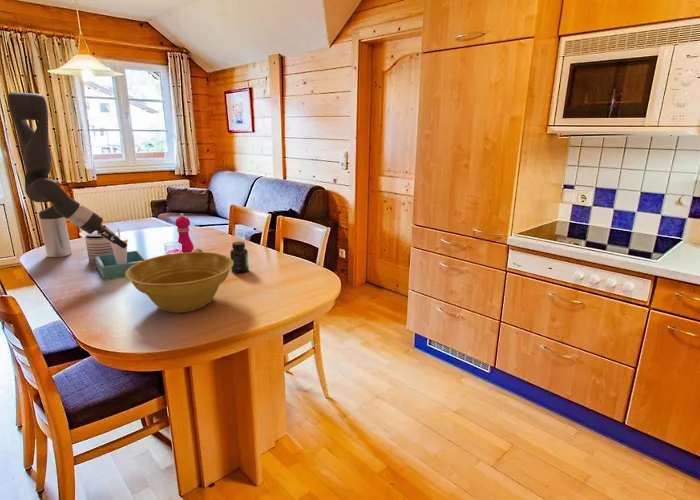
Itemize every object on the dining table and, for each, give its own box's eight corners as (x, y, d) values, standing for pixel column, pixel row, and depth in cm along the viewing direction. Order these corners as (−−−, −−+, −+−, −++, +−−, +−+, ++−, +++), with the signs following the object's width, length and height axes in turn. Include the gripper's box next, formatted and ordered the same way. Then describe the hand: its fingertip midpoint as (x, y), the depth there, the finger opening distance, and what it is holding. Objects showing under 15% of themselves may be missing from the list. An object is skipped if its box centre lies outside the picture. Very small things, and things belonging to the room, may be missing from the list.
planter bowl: (126, 334, 116) (120, 289, 112) (133, 293, 144) (128, 257, 141) (243, 316, 129) (241, 275, 125) (228, 282, 157) (226, 248, 153)
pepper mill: (197, 255, 188) (194, 212, 183) (187, 260, 182) (182, 215, 176) (184, 254, 191) (180, 211, 185) (173, 258, 184) (169, 214, 178)
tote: (97, 267, 170) (95, 256, 169) (139, 261, 179) (138, 250, 178) (104, 280, 156) (102, 267, 155) (149, 272, 166) (148, 260, 164)
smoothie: (123, 265, 163) (118, 231, 159) (108, 264, 164) (103, 230, 161) (134, 261, 169) (130, 227, 165) (120, 260, 170) (116, 226, 167)
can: (82, 261, 178) (78, 234, 174) (106, 254, 188) (102, 229, 184) (101, 265, 174) (97, 237, 170) (125, 257, 184) (121, 231, 180)
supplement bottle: (252, 271, 169) (250, 243, 166) (237, 275, 164) (235, 246, 161) (242, 267, 174) (241, 239, 170) (228, 271, 169) (226, 242, 165)
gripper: (94, 214, 151) (134, 241, 161) (89, 208, 162) (127, 234, 172) (80, 230, 149) (121, 256, 160) (75, 223, 160) (114, 248, 170)
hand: (124, 244), depth 166 cm, fingers closed on smoothie, 6 cm apart
